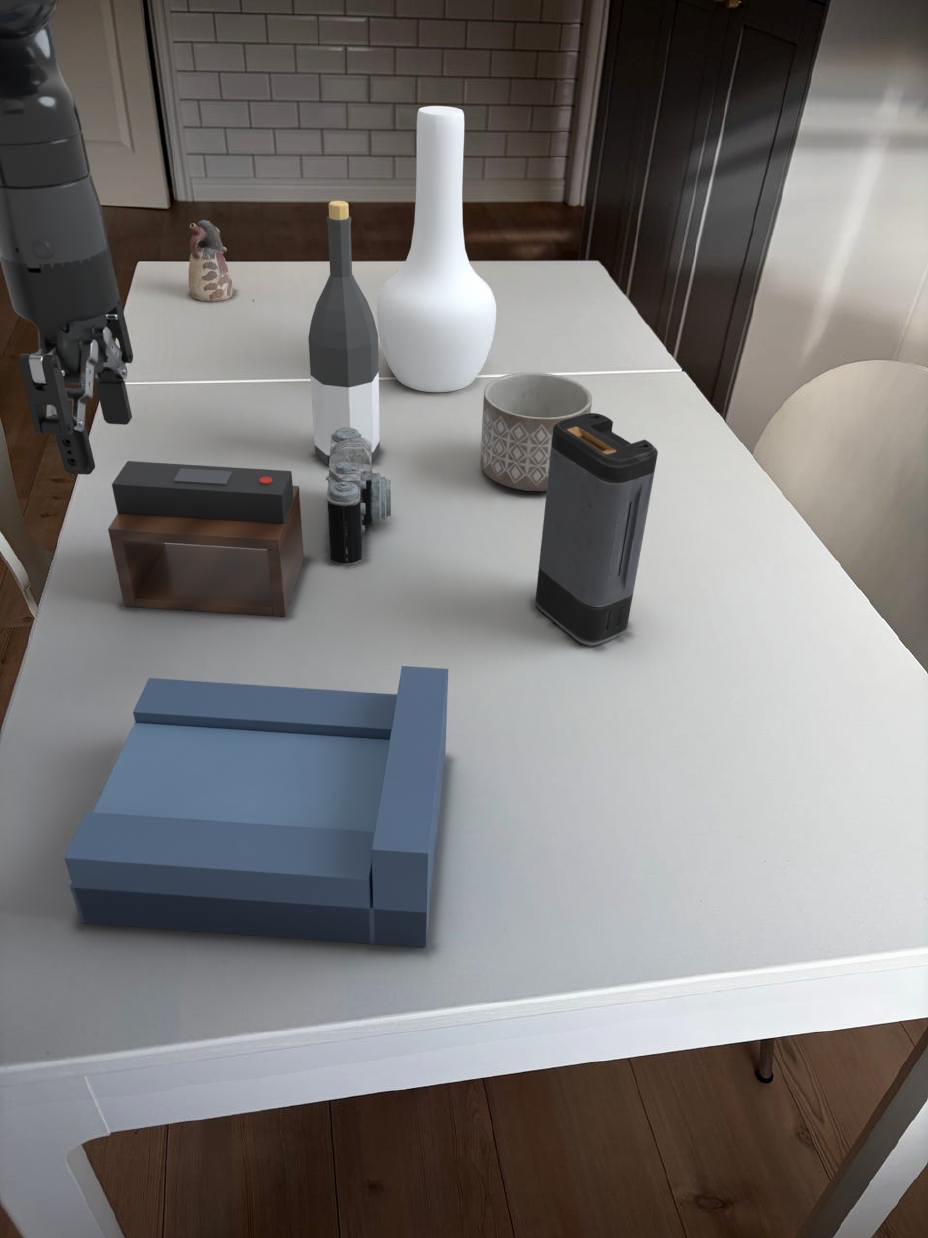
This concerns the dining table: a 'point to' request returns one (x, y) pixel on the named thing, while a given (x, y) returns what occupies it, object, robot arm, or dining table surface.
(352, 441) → the camera
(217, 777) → the sofa
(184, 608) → the shelf
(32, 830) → the dining table surface
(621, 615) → the electronic device
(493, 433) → the planter
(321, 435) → the wine bottle
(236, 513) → the remote
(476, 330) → the vase
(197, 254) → the figurine
